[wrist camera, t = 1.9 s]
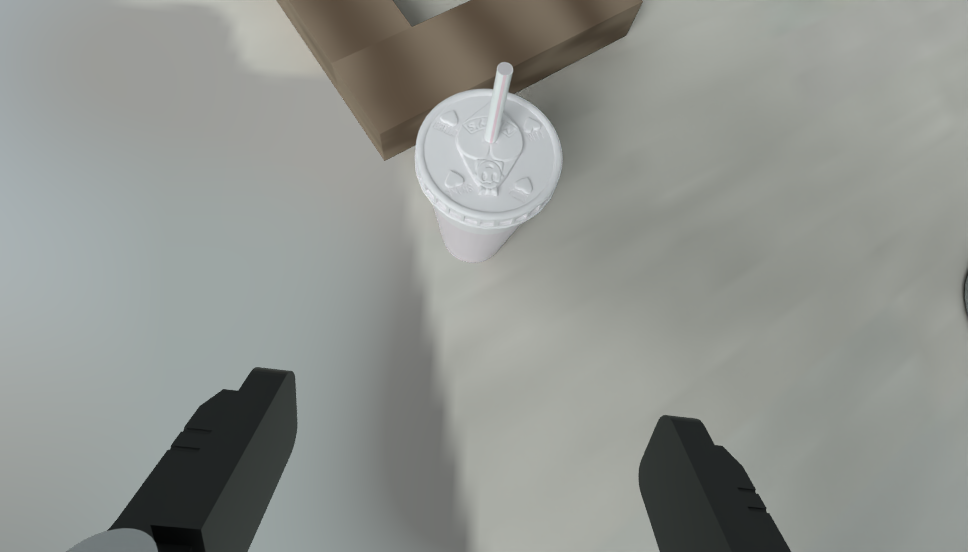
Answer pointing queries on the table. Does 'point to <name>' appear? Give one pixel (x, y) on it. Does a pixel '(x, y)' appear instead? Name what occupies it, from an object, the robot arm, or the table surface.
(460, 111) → the smoothie
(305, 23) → the caddy
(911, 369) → the table surface
